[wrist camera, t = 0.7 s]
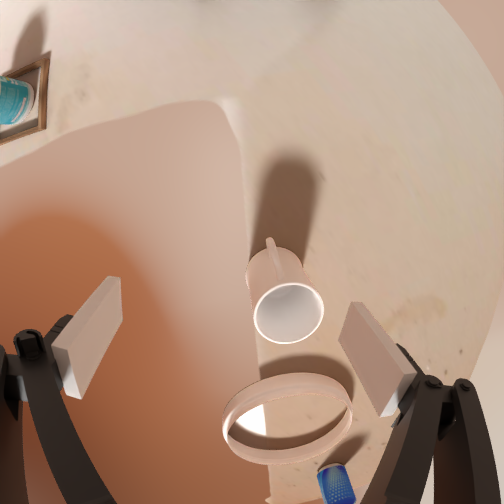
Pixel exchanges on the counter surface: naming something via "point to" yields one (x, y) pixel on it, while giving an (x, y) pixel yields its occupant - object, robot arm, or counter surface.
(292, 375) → the white hollow ring
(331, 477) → the beer can
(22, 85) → the pill bottle
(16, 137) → the frame
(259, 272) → the mug
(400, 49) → the counter surface
